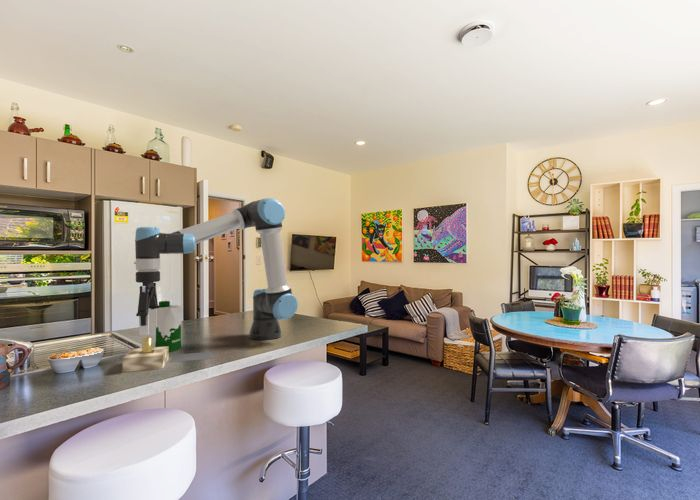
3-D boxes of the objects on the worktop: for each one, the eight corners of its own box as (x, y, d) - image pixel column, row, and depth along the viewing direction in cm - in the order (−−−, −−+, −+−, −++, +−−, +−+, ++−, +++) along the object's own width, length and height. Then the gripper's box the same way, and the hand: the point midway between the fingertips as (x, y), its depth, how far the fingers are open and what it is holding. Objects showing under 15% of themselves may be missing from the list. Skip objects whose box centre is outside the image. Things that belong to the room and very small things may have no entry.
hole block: (168, 359, 133) (168, 346, 133) (162, 369, 121) (162, 355, 121) (131, 362, 129) (132, 348, 129) (122, 373, 117) (122, 358, 118)
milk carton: (166, 347, 150) (166, 300, 150) (185, 348, 148) (185, 300, 149) (150, 352, 142) (151, 302, 142) (170, 354, 140) (171, 303, 140)
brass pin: (152, 364, 127) (152, 336, 127) (150, 366, 124) (151, 338, 124) (143, 364, 126) (143, 336, 126) (141, 367, 123) (141, 338, 123)
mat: (212, 352, 142) (212, 351, 142) (210, 359, 133) (210, 358, 133) (173, 355, 138) (173, 354, 138) (169, 363, 128) (169, 362, 128)
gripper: (144, 269, 136) (144, 324, 136) (125, 273, 112) (126, 339, 112) (165, 268, 138) (166, 322, 138) (152, 272, 115) (153, 337, 115)
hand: (148, 330), depth 125 cm, fingers open, 13 cm apart
